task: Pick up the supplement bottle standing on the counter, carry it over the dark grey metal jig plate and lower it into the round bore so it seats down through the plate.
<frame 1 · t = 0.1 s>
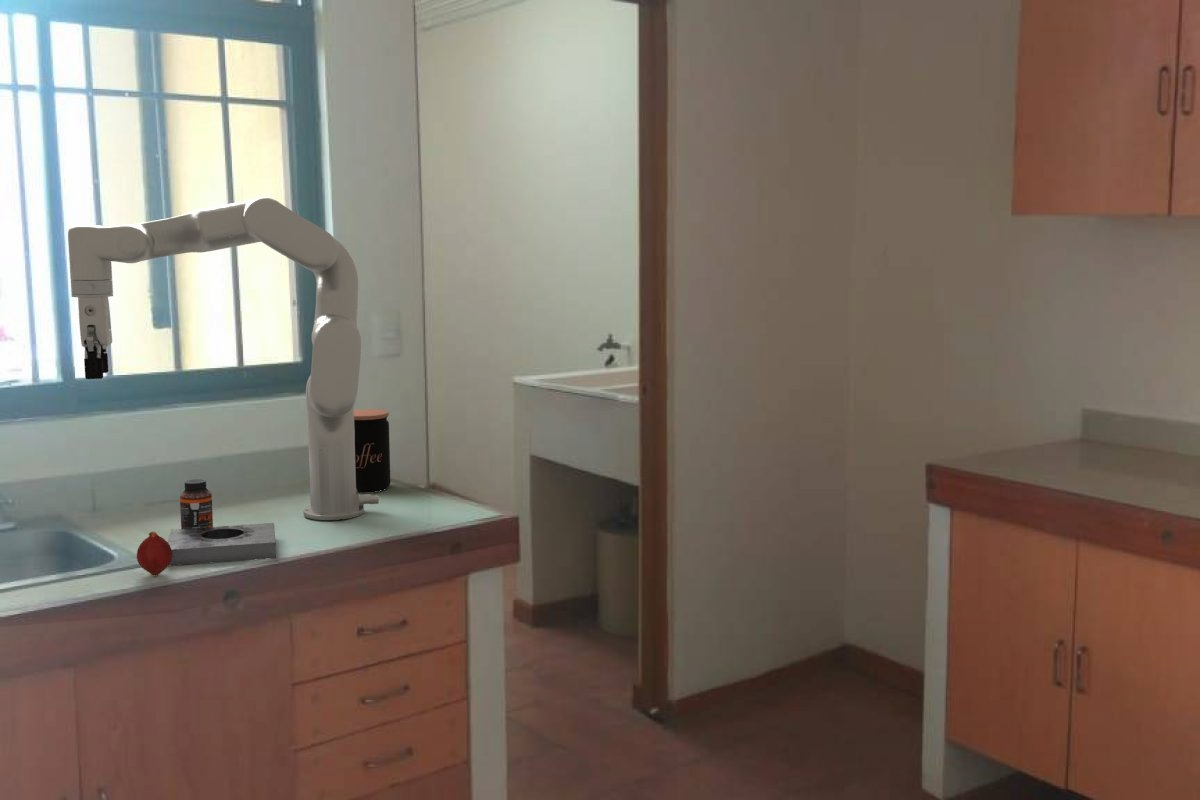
hand: (97, 375, 234), 31 cm above the table, tool pointing down, fingers open, 9 cm apart
coffee jar: (367, 489, 275), on the table
onion: (155, 576, 207), on the table
jig plate: (223, 551, 222), on the table
supplement bottle: (197, 538, 232), on the table
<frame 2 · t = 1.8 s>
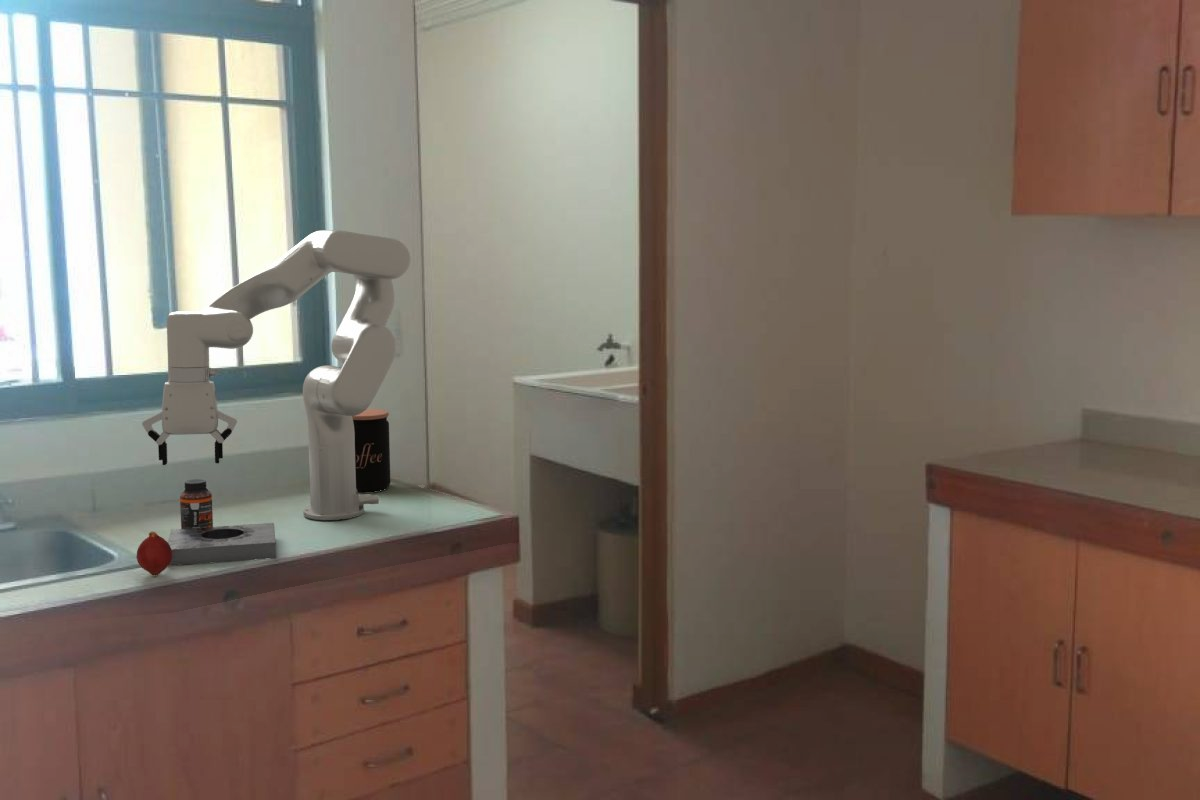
hand: (191, 463, 230), 15 cm above the table, tool pointing down, fingers open, 9 cm apart
nothing on the table moved.
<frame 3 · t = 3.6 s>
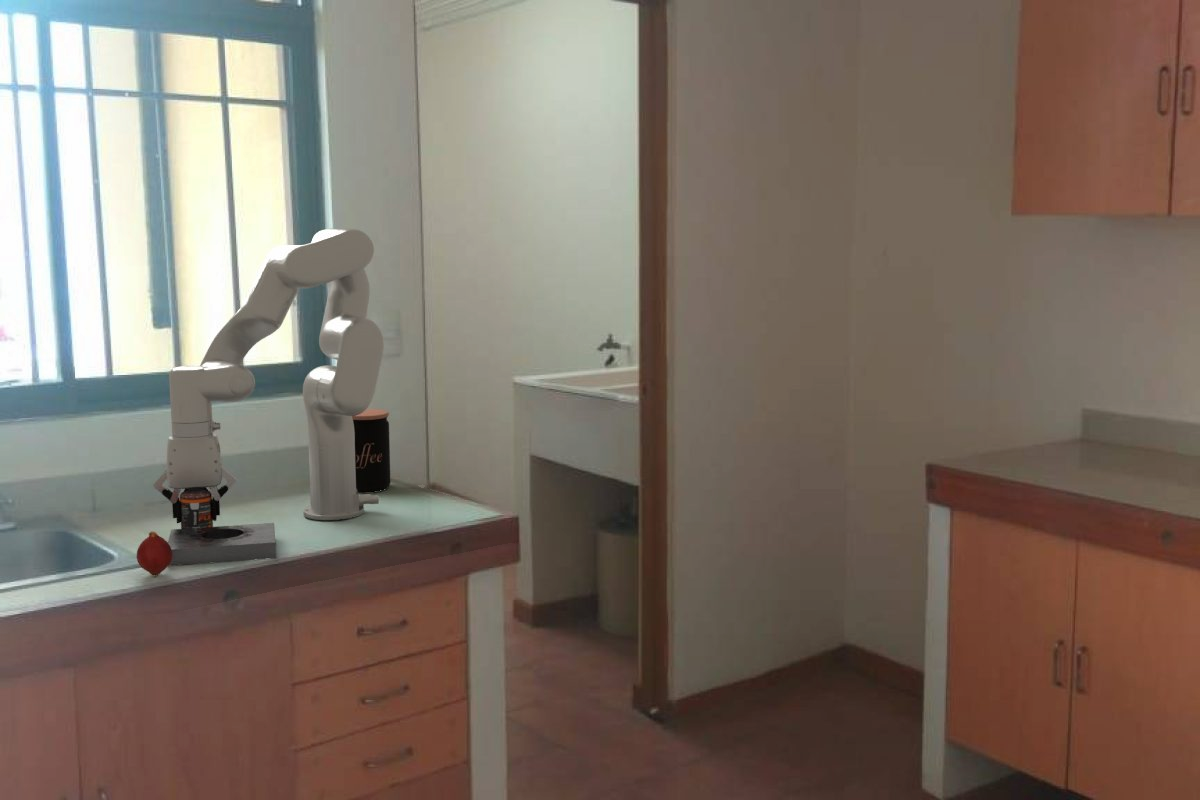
hand: (196, 519, 232), 4 cm above the table, tool pointing down, fingers closed on supplement bottle, 6 cm apart
supplement bottle: (197, 538, 232), on the table, touching gripper
everything else where it was.
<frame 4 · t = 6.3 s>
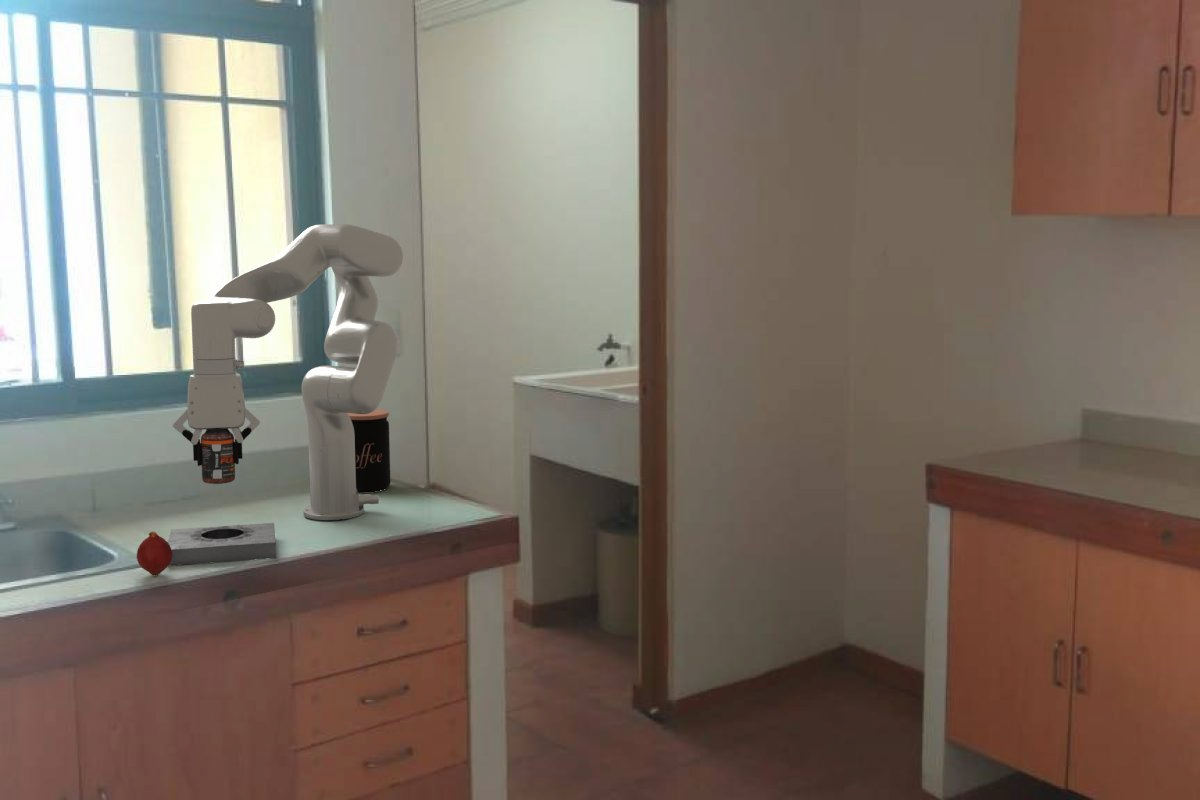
hand: (218, 462, 221), 17 cm above the table, tool pointing down, fingers closed on supplement bottle, 5 cm apart
supplement bottle: (219, 482, 221), point 13 cm above the table, touching gripper
everything else where it was.
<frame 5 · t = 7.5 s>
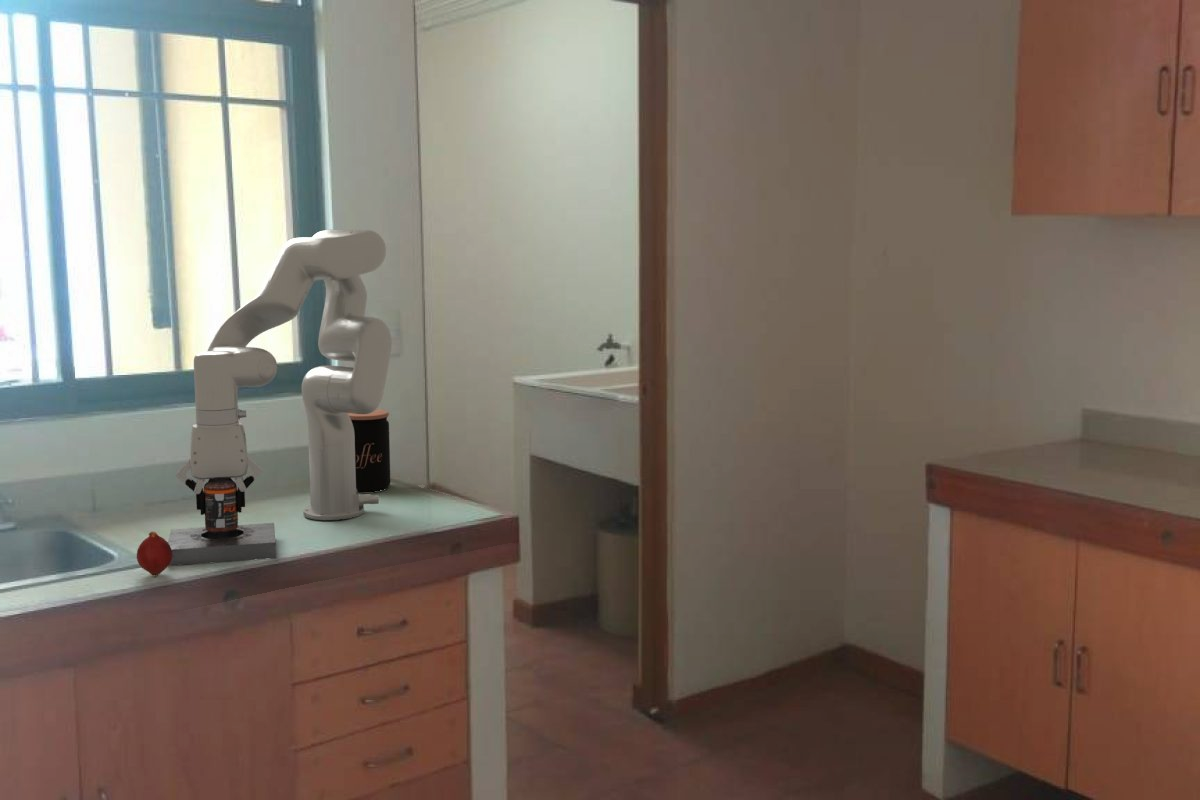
hand: (221, 511, 222), 7 cm above the table, tool pointing down, fingers closed on supplement bottle, 5 cm apart
supplement bottle: (222, 530, 223), point 4 cm above the table, touching gripper
everything else where it was.
when the fingers open (5 cm above the table, at t = 8.8 s): supplement bottle drops 1 cm, resting in jig plate.
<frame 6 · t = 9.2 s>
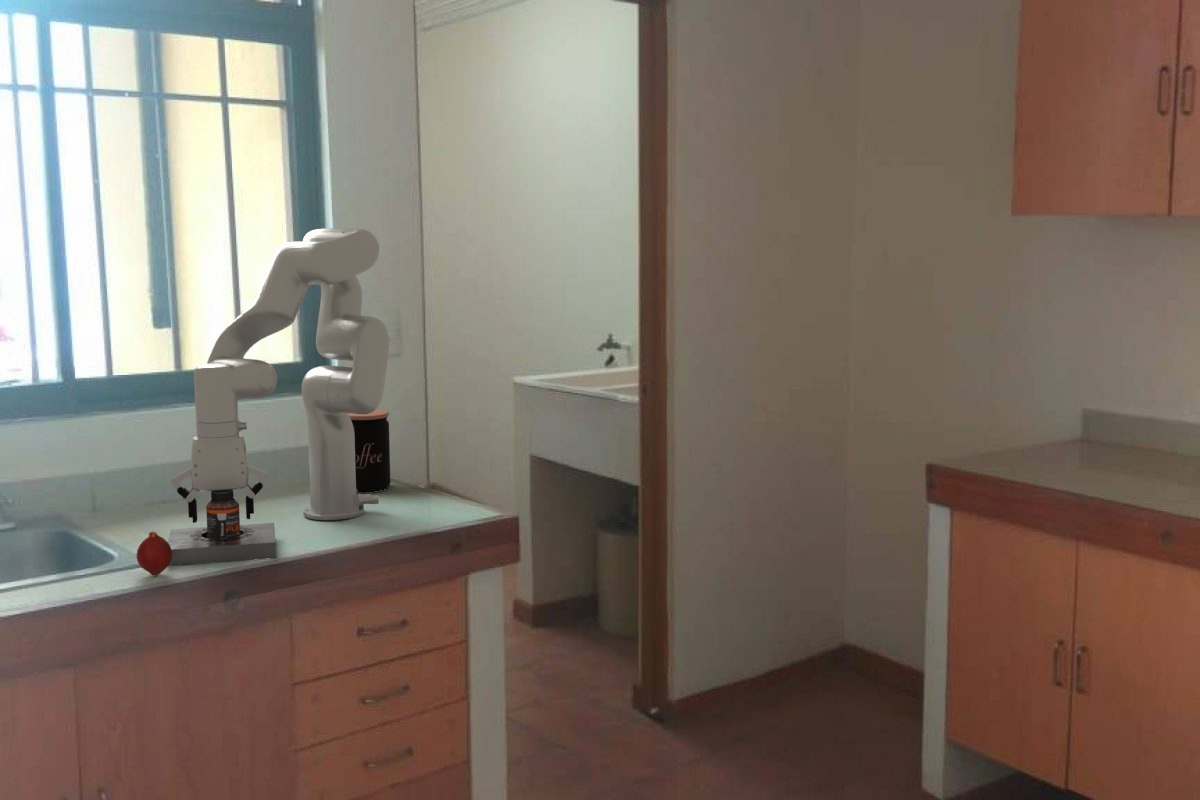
hand: (221, 519, 223), 6 cm above the table, tool pointing down, fingers open, 9 cm apart
supplement bottle: (224, 550, 224), resting in jig plate
everything else where it was.
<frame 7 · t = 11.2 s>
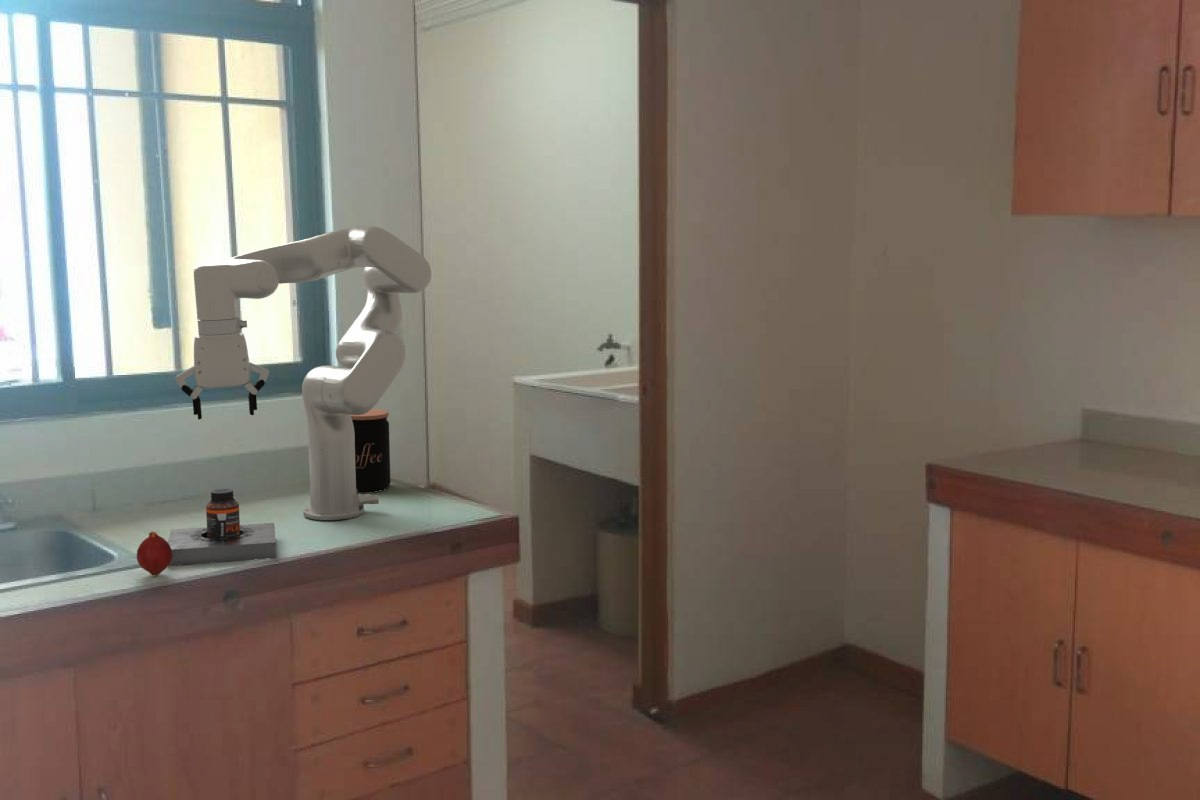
hand: (226, 416, 228), 24 cm above the table, tool pointing down, fingers open, 9 cm apart
nothing on the table moved.
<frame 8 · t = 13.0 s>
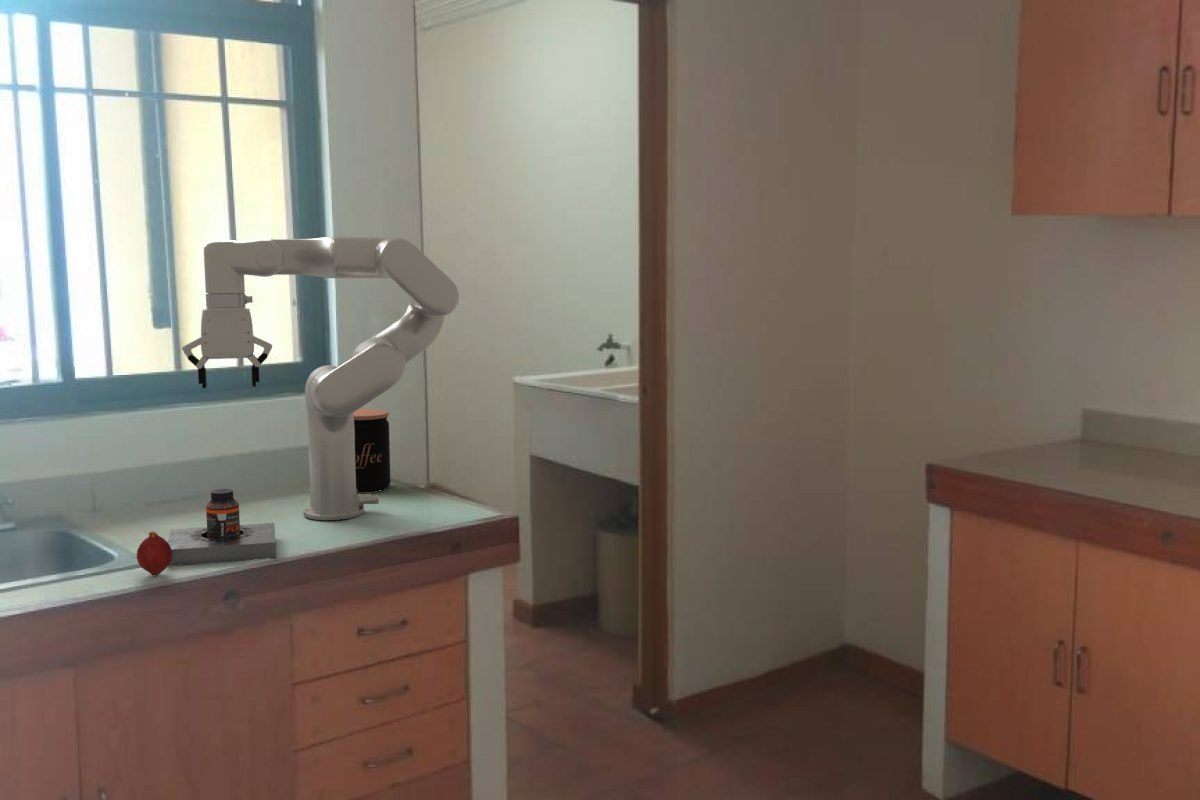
hand: (229, 386, 239), 28 cm above the table, tool pointing down, fingers open, 9 cm apart
nothing on the table moved.
at the end: supplement bottle 0.2 cm from the target spot on the jig plate, point 0.0 cm above the jig plate's base; supplement bottle tilted 0°; the gripper is holding nothing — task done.
